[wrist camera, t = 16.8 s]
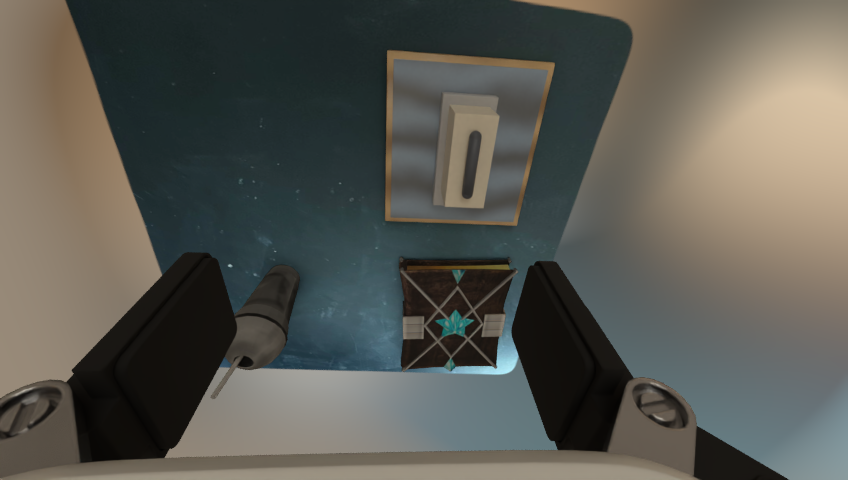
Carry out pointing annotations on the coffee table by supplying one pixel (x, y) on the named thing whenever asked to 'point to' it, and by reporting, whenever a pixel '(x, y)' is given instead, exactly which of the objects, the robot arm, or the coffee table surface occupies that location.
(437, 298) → the book
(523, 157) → the board
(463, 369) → the coffee table surface
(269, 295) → the beverage cup
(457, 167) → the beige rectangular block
